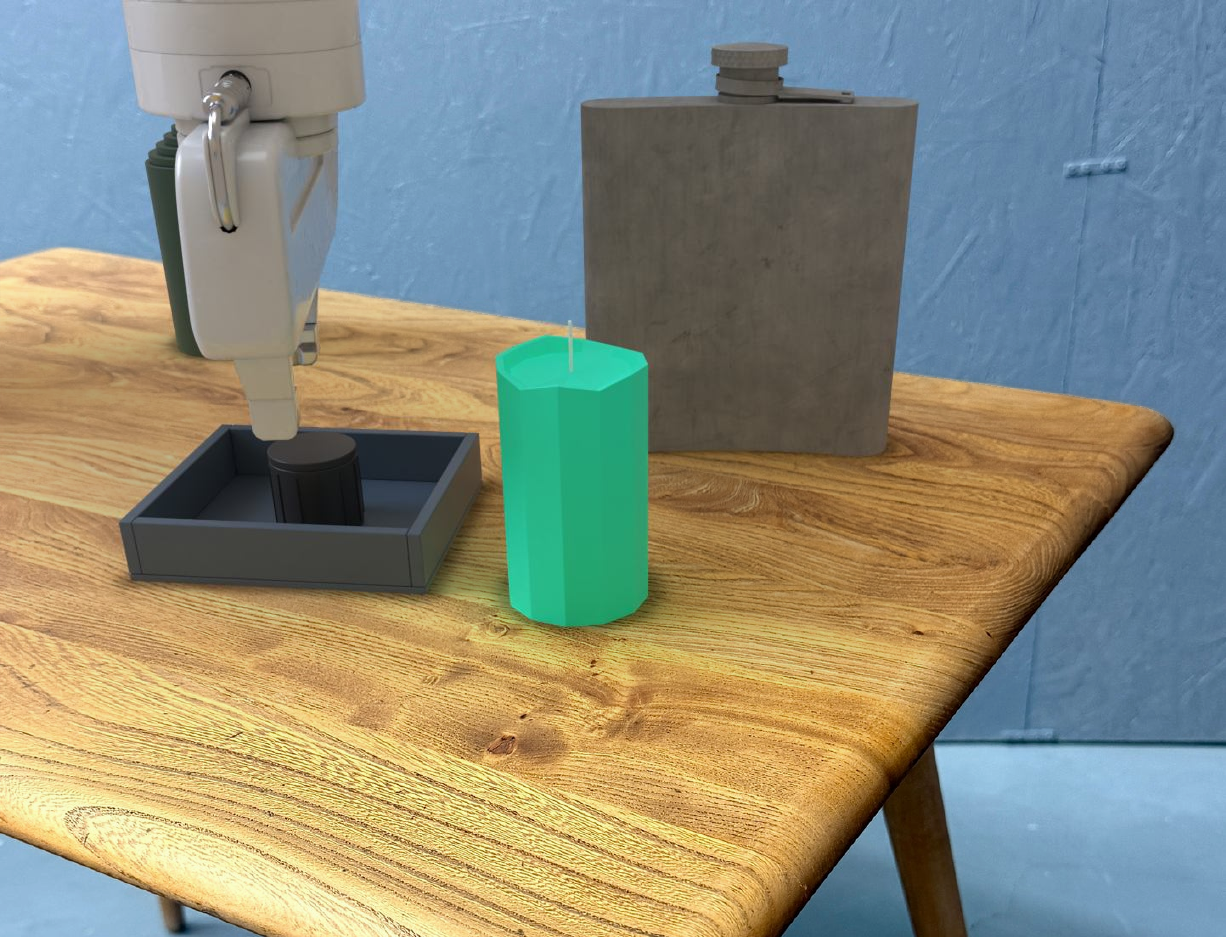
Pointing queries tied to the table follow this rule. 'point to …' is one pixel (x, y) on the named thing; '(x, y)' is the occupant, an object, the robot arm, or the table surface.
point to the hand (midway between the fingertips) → (290, 395)
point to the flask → (170, 236)
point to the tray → (305, 553)
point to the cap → (316, 480)
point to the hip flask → (751, 255)
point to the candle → (574, 478)
